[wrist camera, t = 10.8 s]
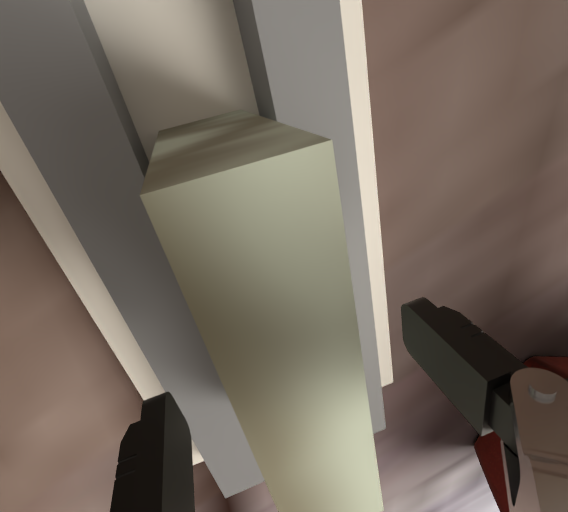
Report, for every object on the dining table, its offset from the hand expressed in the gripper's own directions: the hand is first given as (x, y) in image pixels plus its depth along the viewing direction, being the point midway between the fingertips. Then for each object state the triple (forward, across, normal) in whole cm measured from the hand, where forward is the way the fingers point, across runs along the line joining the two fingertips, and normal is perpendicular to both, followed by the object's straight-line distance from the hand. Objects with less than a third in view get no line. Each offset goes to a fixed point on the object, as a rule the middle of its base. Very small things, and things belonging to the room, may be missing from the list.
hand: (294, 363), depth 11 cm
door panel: (+8, 0, 0) cm, 8 cm away
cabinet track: (+10, 0, 0) cm, 10 cm away
